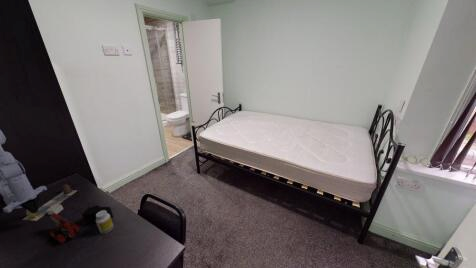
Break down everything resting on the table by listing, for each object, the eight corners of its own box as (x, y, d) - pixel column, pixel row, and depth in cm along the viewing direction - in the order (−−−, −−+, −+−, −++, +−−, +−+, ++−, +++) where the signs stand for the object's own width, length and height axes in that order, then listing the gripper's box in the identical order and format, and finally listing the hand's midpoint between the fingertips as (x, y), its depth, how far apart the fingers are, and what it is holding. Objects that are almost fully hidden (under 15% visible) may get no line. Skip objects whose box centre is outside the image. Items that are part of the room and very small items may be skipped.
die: (49, 216, 89) (45, 210, 87) (57, 210, 93) (54, 204, 91) (56, 216, 89) (53, 210, 87) (64, 210, 93) (61, 204, 91)
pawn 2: (61, 194, 102) (58, 186, 100) (68, 190, 105) (64, 182, 103) (68, 194, 102) (64, 187, 99) (74, 190, 105) (70, 182, 103)
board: (22, 221, 86) (21, 219, 85) (66, 191, 106) (65, 189, 106) (37, 222, 85) (36, 220, 85) (78, 191, 106) (77, 190, 105)
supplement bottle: (116, 225, 84) (111, 210, 80) (106, 235, 79) (99, 219, 76) (107, 223, 86) (102, 207, 82) (97, 232, 81) (90, 216, 77)
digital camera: (115, 215, 90) (111, 204, 87) (108, 224, 85) (104, 213, 82) (94, 215, 90) (90, 205, 87) (86, 224, 85) (81, 213, 82)
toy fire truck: (65, 246, 74) (55, 229, 71) (50, 236, 79) (40, 219, 75) (84, 233, 80) (76, 216, 76) (68, 224, 85) (60, 207, 81)
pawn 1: (26, 219, 86) (20, 210, 83) (35, 213, 89) (30, 204, 87) (33, 220, 85) (28, 211, 83) (41, 213, 89) (37, 205, 87)
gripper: (8, 201, 69) (24, 225, 74) (47, 178, 82) (58, 201, 88) (-8, 200, 69) (8, 224, 75) (33, 178, 83) (45, 200, 88)
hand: (34, 211), depth 81 cm, fingers closed
